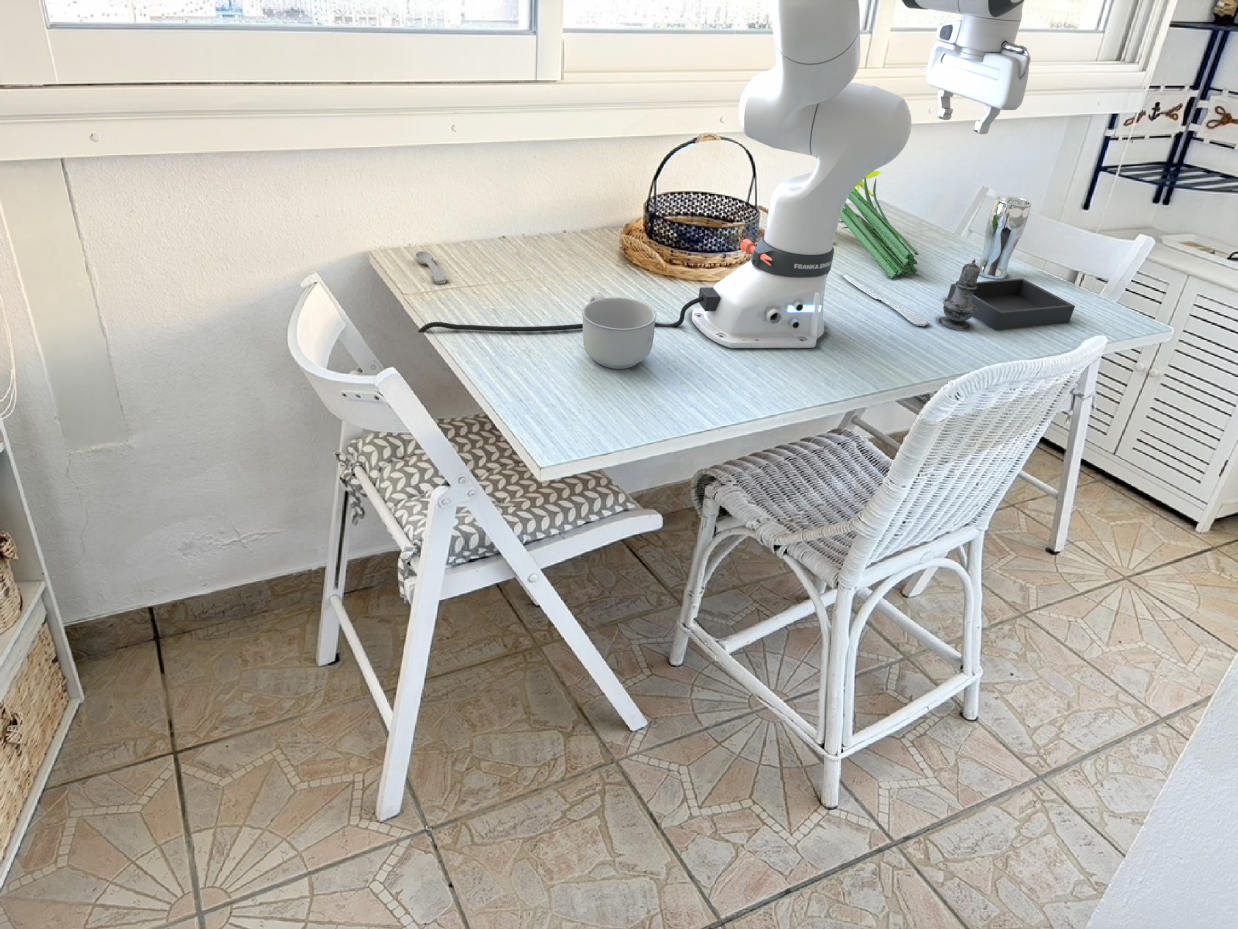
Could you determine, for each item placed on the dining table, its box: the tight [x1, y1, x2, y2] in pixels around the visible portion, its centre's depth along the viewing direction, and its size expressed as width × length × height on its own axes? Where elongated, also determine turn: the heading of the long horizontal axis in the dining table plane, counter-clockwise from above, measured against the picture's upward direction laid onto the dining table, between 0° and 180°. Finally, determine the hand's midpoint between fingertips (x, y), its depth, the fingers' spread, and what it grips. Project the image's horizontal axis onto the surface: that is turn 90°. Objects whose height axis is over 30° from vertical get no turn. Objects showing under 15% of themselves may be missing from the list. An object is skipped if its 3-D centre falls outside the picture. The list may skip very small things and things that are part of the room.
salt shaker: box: [938, 258, 980, 331], centre depth 159 cm, size 6×6×12 cm
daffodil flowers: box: [839, 170, 920, 280], centre depth 189 cm, size 17×15×35 cm
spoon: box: [414, 250, 447, 285], centre depth 161 cm, size 3×12×2 cm, turn 27°
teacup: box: [581, 293, 657, 370], centre depth 137 cm, size 14×11×8 cm
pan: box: [946, 277, 1076, 331], centre depth 169 cm, size 17×13×3 cm
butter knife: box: [842, 273, 929, 327], centre depth 169 cm, size 1×24×3 cm
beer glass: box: [976, 195, 1032, 280], centre depth 183 cm, size 7×7×15 cm
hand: (961, 125), depth 155 cm, fingers open, 8 cm apart
